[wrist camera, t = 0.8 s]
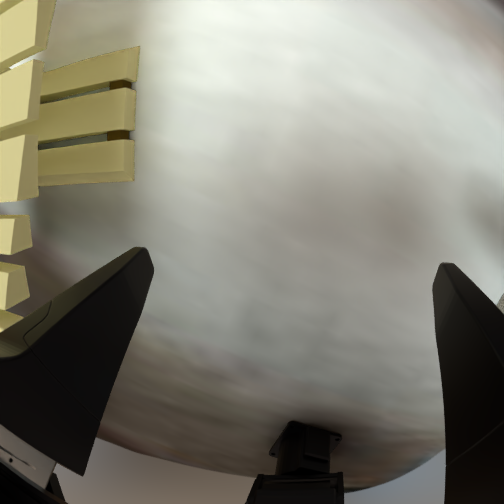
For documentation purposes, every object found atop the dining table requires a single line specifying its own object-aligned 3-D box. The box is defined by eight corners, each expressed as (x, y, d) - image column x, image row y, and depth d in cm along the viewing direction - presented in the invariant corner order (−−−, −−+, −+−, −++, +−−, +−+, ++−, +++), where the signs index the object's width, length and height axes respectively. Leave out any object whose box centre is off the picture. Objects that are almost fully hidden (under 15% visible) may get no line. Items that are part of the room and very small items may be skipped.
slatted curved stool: (38, 19, 25) (-70, -13, 8) (149, -22, 22) (41, -110, 5) (30, 258, 32) (-86, 312, 15) (138, 270, 30) (1, 366, 13)
